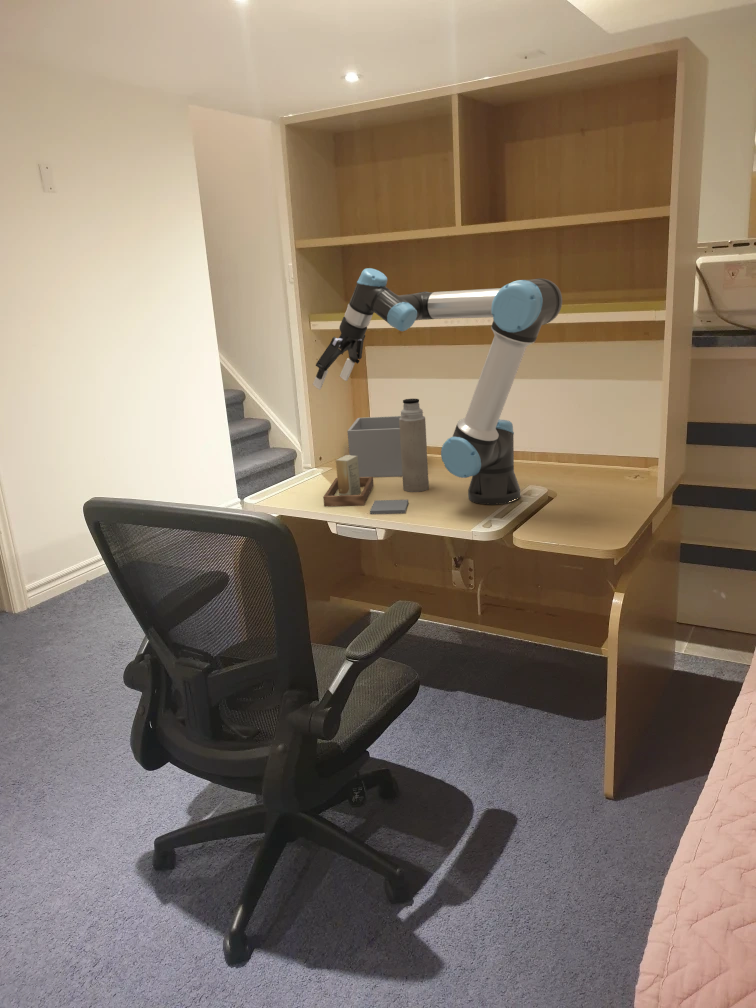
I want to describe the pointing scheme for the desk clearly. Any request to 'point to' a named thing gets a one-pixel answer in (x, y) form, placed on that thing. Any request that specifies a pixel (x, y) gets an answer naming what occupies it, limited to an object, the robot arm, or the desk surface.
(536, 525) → the desk surface
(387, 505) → the mat
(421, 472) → the thermos bottle
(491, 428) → the robot arm
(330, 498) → the frame
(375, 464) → the box
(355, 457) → the skincare box
